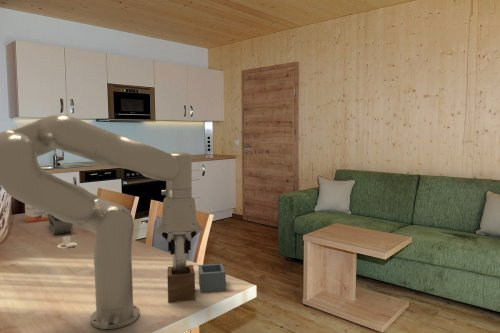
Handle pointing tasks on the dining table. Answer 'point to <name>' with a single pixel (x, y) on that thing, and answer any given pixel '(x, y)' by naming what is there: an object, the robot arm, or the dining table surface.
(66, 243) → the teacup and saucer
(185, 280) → the brown wooden socket block
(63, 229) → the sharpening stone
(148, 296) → the dining table surface
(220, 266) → the blue-grey square holder
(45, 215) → the cracker box
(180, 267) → the steel axle
